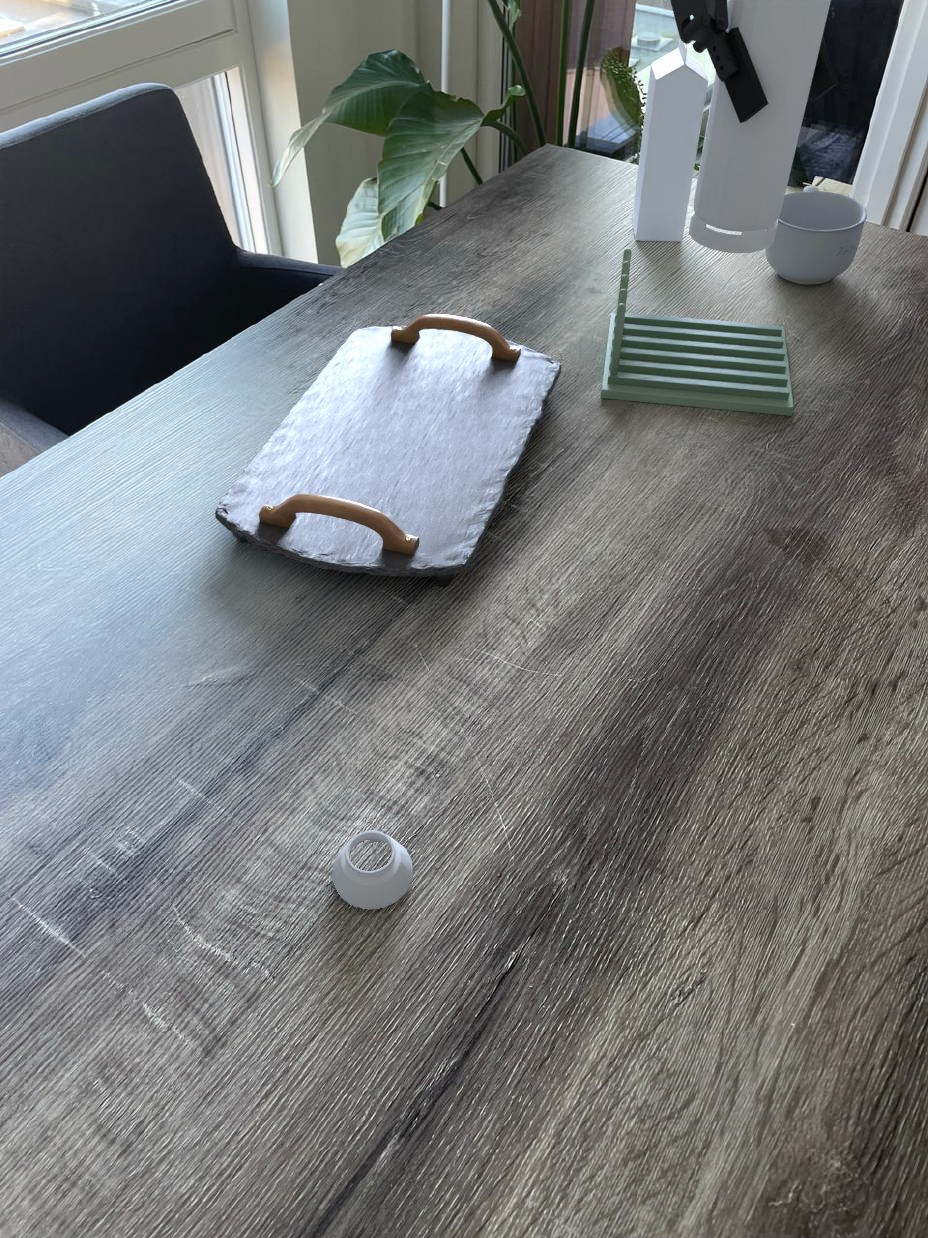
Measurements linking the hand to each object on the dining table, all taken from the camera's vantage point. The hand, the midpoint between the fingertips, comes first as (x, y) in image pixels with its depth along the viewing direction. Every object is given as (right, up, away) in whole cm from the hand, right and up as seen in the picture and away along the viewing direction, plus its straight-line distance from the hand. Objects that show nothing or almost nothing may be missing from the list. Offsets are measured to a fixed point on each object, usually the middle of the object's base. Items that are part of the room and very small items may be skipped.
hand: (789, 102), depth 85 cm
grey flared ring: (-33, -60, -21) cm, 72 cm away
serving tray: (-33, -28, +10) cm, 45 cm away
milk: (-3, +6, +44) cm, 45 cm away
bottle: (-2, -7, +11) cm, 13 cm away
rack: (-3, -17, +22) cm, 27 cm away
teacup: (+14, -1, +38) cm, 40 cm away
